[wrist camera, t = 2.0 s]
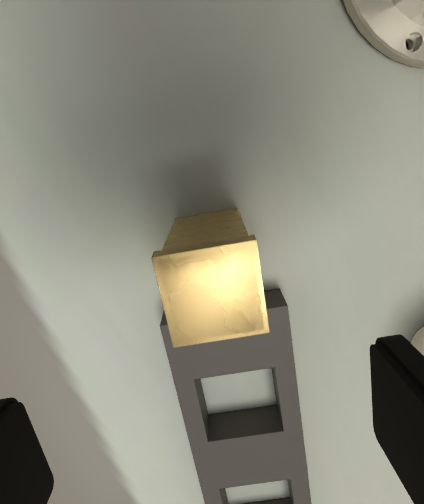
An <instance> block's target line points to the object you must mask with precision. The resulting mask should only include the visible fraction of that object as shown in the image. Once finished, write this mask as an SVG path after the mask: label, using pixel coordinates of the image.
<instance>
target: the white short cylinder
mask: <svg viewBox="0 0 424 504" xmlns="http://www.w3.org/2000/svg"><path fill="white" fill-rule="evenodd" d="M410 343H411V344H412V345H413V346H414V347H415V348H416V349H417V350H418V351H419V352H420V353H421V354H422V355H423V356H424V326H423V327H422V328H421V329H419V330H418V331H417V332H416V333H415V335H414V337H413V338H412V340H411V342H410Z"/></svg>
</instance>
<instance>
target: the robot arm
mask: <svg viewBox="0 0 424 504" xmlns="http://www.w3.org/2000/svg"><path fill="white" fill-rule="evenodd" d="M343 1H344V4H345V7H346V10H347V12H348V14H349V15H350V17H351V19H352V20H353V22H354V24H355V25H356V27H357V28H358V30H359V32H360V33H361V34H362V35H363V36H364V37H365V38H366V39H367V40H368V41H369V42H370V43H371V44H372V45H373V47H374V48H376V49H377V50H379V51H380V52H382V53H383V54H385V55H386V56H388V57H389V58H391V59H392V60H395V61H398V62H400V63H403V64H406V65H408V66H411V67H417V68H424V0H343ZM405 42H407V43H408V45H409V47H408V49H407V48H406V45H405ZM370 364H371V386H372V408H373V427H374V432H375V435H376V438H377V440H378V442H379V444H380V446H381V447H382V449H383V451H384V453H385V454H386V456H387V458H388V459H389V461H390V463H391V465H392V466H393V468H394V470H395V472H396V473H397V475H398V477H399V478H400V480H401V482H402V484H403V485H404V487H405V489H406V490H407V492H408V494H409V496H410V497H411V499H412V501H413V503H414V504H424V356H423V355H422V354H421V353H420V352H419V351H418V350H417V349H416V348H415V347H414V346H413V345H412V344H411V343H410V342H409V341H408V340H407V339H406V338H405V337H404V336H402V335H393V336H386V337H380V338H377V340H376V344H374V345H371V346H370ZM53 484H54V479H53V474H52V472H51V470H50V467H49V465H48V462H47V460H46V458H45V455H44V453H43V451H42V448H41V446H40V443H39V441H38V438H37V436H36V434H35V431H34V429H33V426H32V424H31V421H30V419H29V417H28V414H27V412H26V409H25V407H24V405H23V404H22V403H21V402H18V401H17V400H16V399H15V398H6V399H0V504H47V502H48V499H49V497H50V495H51V493H52V490H53Z"/></svg>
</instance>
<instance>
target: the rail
mask: <svg viewBox="0 0 424 504" xmlns="http://www.w3.org/2000/svg"><path fill="white" fill-rule="evenodd" d="M264 296H265V304H266V311H267V318H268V325H269V332H270V333H264V334H257V335H251V336H245V337H238V338H232V339H225V340H219V341H213V342H206V343H200V344H194V345H187V346H181V347H173V343H172V339H171V335H170V331H169V327H168V323H167V319H166V315H165V311H164V313H163V317H162V320H161V324H160V328H161V332H162V336H163V340H164V344H165V348H166V352H167V356H168V360H169V364H170V368H171V371H172V375H173V379H174V383H175V387H176V391H177V395H178V399H179V403H180V407H181V411H182V415H183V419H184V423H185V427H186V431H187V434H188V438H189V442H190V446H191V450H192V454H193V458H194V462H195V466H196V470H197V474H198V478H199V482H200V486H201V490H202V493H203V497H204V501H205V504H228V501H227V496H226V492H225V488H229V487H236V486H244V485H251V484H258V483H266V482H273V481H281V480H288V483H289V490H290V497H291V498H285V499H277V500H270V501H262V502H255V503H247V504H311V497H310V489H309V480H308V472H307V464H306V455H305V447H304V438H303V430H302V422H301V413H300V405H299V397H298V388H297V380H296V371H295V363H294V355H293V346H292V338H291V330H290V321H289V313H288V305H287V303H286V301H285V299H284V297H283V295H282V292H281V290H280V289H275V290H269V291H264ZM267 368H272V372H273V379H274V386H275V393H276V400H277V405H274V406H267V407H260V408H254V409H247V410H240V411H233V412H226V413H219V414H212V415H208V412H207V407H206V403H205V399H204V394H203V390H202V385H201V381H200V379H201V378H207V377H214V376H220V375H227V374H234V373H240V372H247V371H253V370H260V369H267Z"/></svg>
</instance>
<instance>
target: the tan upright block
mask: <svg viewBox="0 0 424 504" xmlns="http://www.w3.org/2000/svg"><path fill="white" fill-rule="evenodd" d="M152 262H153V266H154V270H155V274H156V278H157V282H158V286H159V290H160V294H161V299H162V303H163V307H164V311H165V315H166V319H167V323H168V327H169V331H170V335H171V339H172V343H173V347H181V346H187V345H194V344H200V343H206V342H213V341H219V340H225V339H232V338H238V337H245V336H251V335H257V334H264V333H270V332H269V325H268V318H267V311H266V304H265V296H264V289H263V282H262V275H261V268H260V261H259V254H258V247H257V240H256V238H255V235H249V236H248V233H247V231H246V228H245V226H244V223H243V221H242V218H241V216H240V213H239V211H238V208H234V209H228V210H223V211H217V212H211V213H205V214H200V215H194V216H188V217H183V218H177V219H175V221H174V223H173V225H172V228H171V230H170V233H169V235H168V237H167V240H166V242H165V244H164V247H163V249H162V250H161V251H155V252H154V254H153V256H152Z"/></svg>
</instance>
